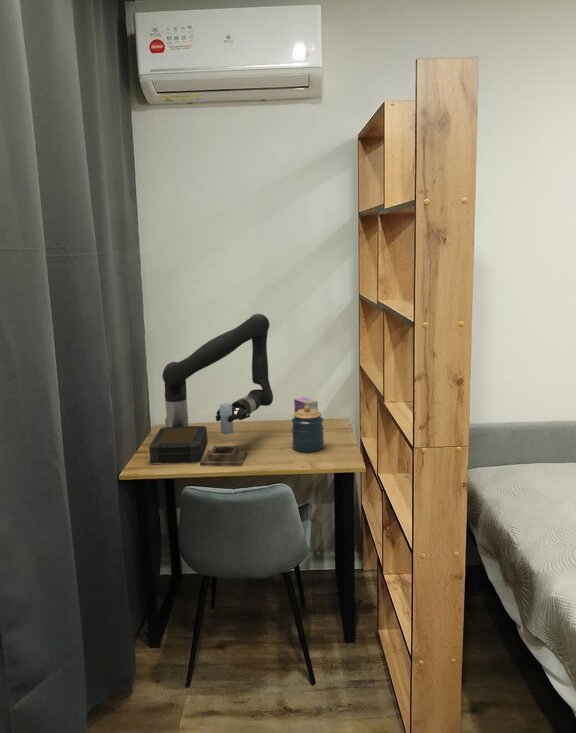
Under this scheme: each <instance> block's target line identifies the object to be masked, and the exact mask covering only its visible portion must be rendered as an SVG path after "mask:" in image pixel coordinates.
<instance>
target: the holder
mask: <svg viewBox="0 0 576 733" xmlns="http://www.w3.org/2000/svg"><path fill="white" fill-rule="evenodd" d="M247 455H248V450H246V449H243V450H242V449H240V447H239V445H214V446H213V447H212V448H211V449H210V450H209V449H208V450H207V452H206V453H205V454H204V455H203V456H202V459H201V461H200V462H199V466H200V465H213V466H214V467H216V466H215V465H218V466H217V467H219V465H243V464H242V463H244V462H243V461H245V459H246V457H247ZM213 466H212V467H213Z"/></svg>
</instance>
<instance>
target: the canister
mask: <svg viewBox="0 0 576 733" xmlns="http://www.w3.org/2000/svg"><path fill="white" fill-rule="evenodd" d="M324 421H325V420H324V418H323V417H322V413H321V411H319V410H318V411H317V410H316V409H310V406H305V407H304V409H300V410H298V411H297V412H295V411H294V413H293V418H291V422H292V427H291V431H292V443H291V444H292V447H293V448H292V449H294V450H295V451H298V452H300V453H314V452H319V451H321V450H323V449H324V446H325V439H324V428H325V427H324V425H323V422H324Z"/></svg>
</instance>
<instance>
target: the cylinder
mask: <svg viewBox="0 0 576 733" xmlns="http://www.w3.org/2000/svg"><path fill="white" fill-rule="evenodd" d="M219 409H220V432H221V435H230V434H233V433H234V425H233V424H234V423H233V422H234V421H232V422H228V417H229V416H231V415H232V403H229V402H228V403H225V402H224V403H220V404H219Z"/></svg>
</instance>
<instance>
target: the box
mask: <svg viewBox="0 0 576 733" xmlns="http://www.w3.org/2000/svg"><path fill="white" fill-rule="evenodd" d="M293 403H294V404H293V405H294V413H295V412H297V411H298V410H300V409H304V407H305V406H310V409H316V410H317V411H319V409H318V408H319V406H318V405H319V403H318V400H316V399H315V400H314V399H311V398H309V397H304V396H303V397H298V398H294V399H293Z"/></svg>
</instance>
